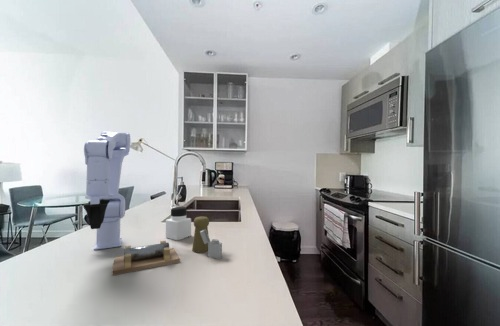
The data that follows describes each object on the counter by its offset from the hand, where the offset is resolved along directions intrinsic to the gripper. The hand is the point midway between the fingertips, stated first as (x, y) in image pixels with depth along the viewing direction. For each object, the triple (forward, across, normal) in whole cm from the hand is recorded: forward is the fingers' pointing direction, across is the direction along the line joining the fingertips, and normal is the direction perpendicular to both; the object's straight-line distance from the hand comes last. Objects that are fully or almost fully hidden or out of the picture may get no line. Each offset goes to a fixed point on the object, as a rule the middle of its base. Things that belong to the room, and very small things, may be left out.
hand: (97, 225), depth 67 cm
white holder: (+11, -12, -31) cm, 35 cm away
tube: (+10, -7, -13) cm, 18 cm away
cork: (+11, -5, -30) cm, 32 cm away
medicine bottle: (+10, +13, -26) cm, 31 cm away
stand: (+10, -7, -13) cm, 18 cm away
